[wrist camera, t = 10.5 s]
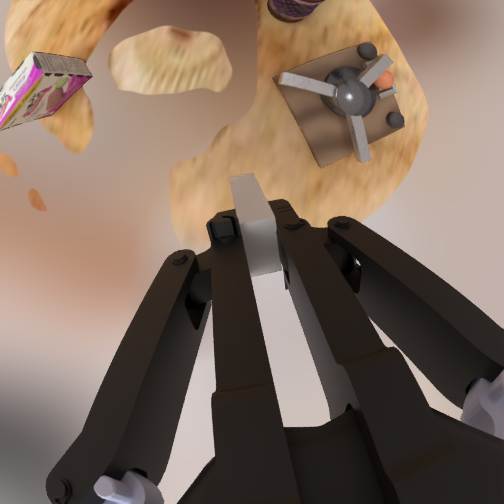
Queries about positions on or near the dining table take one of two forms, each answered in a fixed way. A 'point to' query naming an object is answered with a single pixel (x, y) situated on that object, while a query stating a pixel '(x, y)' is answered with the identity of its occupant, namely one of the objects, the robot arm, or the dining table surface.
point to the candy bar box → (40, 87)
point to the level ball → (384, 80)
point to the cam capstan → (346, 96)
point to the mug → (292, 9)
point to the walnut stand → (325, 120)
